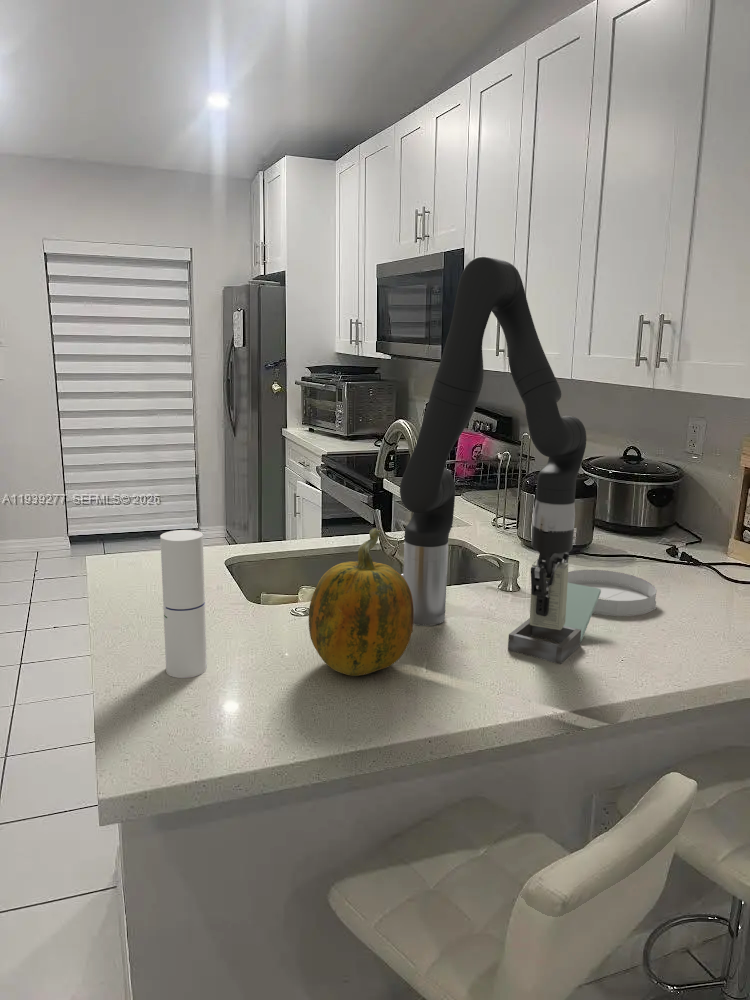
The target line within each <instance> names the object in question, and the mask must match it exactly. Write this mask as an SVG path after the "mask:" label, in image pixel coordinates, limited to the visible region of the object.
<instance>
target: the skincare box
mask: <svg viewBox="0 0 750 1000" xmlns="http://www.w3.org/2000/svg"><path fill="white" fill-rule="evenodd" d="M537 560H538V558H537V559H536V560H535V561H534V562H533V564H532V565H531V567H532V566H534V567H537V566H538V565H536V564H537ZM568 572H569V562H568V563H564V564H562V565H560V564H559V567H558V568H557V570H556V571H555V581H554V585H553V586H551V591H550V596H549V610H548V615H547V616H541V615H537V614H536V602H537V596H536V595H532V589H531V588H530V603H529V604H530V607H529V618H530V625H532V626H538V627H544V628H550V629H557V630H561V629H562V628H563V626H564V624H565V617H566V601H567V584H568ZM550 579H551V577H550V578H546V580H547V581H549V580H550ZM546 588H547V585H546ZM540 590H542V589H540Z"/></svg>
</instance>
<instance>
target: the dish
mask: <svg viewBox="0 0 750 1000" xmlns="http://www.w3.org/2000/svg"><path fill="white" fill-rule="evenodd" d="M568 582H569V583H573V584H578V585H583V586H588V587H593V588H598V589H601V593H600V596H599V598H598V601H597V603H596V606H595V608H594V611H593V613H592V614H595V615H602V616H612V617H614V616H615V617H633V616H641V615H644V614H648V613H650V612H652V611H654V610H656V607H657V601H656V598H657V589H656V586H655V585H653V584H652V583H651V582H650V581H648V580H647V579H644V578H642V577H638V576H636V575H633V574H628V573H624V572H619V571H613V570H603V569H576V570H571V571H568Z"/></svg>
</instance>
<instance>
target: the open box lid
mask: <svg viewBox="0 0 750 1000" xmlns="http://www.w3.org/2000/svg"><path fill="white" fill-rule="evenodd" d="M600 593H601V589H598V588H593V587H588V586H583V585H578V584H573V583H569V582H568V584H567V601H566V617H565V624H564V626H567V627H572V628H576V629H580V630H581V639H580V644H581V643H582V641H583V638H584V637H585V633H586V631H587V628H588V625H589V623H590V621H591V618H592V616H593V614H594V613H593V611H594V608H595V606H596V603H597V601H598V599H600V598H599V596H600Z"/></svg>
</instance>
